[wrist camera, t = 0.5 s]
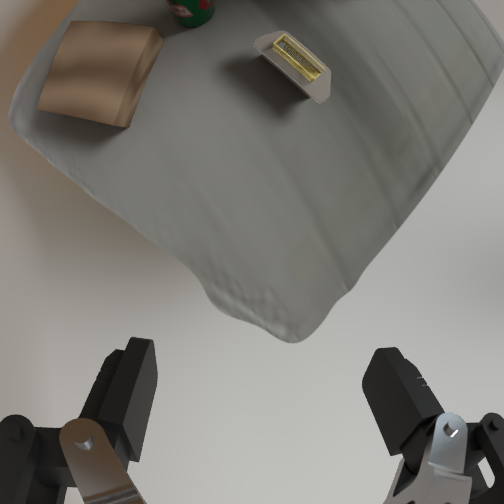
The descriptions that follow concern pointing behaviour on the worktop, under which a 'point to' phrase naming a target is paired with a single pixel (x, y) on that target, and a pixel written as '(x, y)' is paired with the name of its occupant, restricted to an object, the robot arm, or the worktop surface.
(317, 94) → the grey flat gold-topped slab
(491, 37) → the worktop surface
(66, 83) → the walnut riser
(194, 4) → the soda can
